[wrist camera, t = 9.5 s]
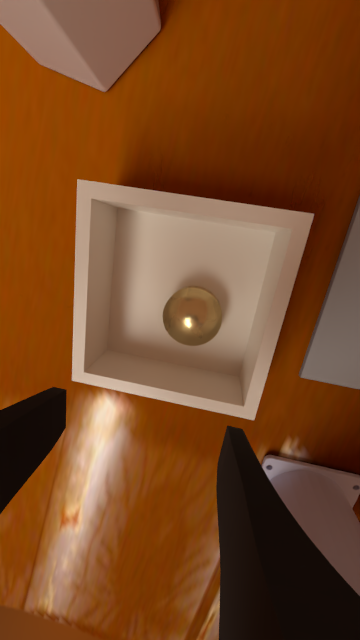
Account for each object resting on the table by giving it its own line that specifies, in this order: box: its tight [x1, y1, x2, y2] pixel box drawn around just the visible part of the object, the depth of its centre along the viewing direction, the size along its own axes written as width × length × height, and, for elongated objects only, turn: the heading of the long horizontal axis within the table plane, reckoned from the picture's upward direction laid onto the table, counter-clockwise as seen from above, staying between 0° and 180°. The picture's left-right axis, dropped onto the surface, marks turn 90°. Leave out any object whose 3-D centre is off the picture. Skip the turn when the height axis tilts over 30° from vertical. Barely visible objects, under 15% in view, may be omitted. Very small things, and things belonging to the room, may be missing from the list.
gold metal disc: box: [163, 286, 222, 346], centre depth 18 cm, size 4×4×1 cm
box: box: [72, 179, 314, 420], centre depth 17 cm, size 12×12×4 cm
